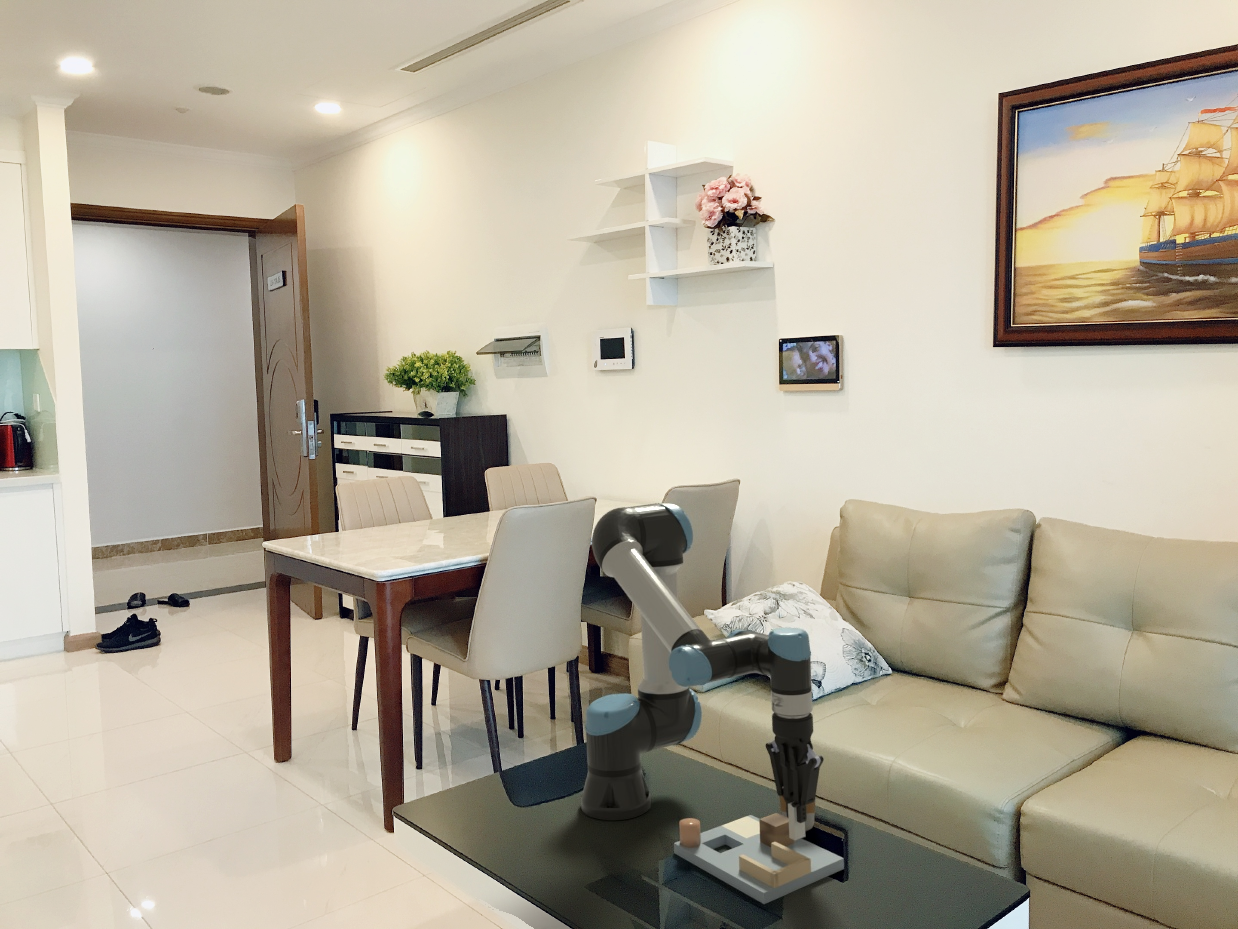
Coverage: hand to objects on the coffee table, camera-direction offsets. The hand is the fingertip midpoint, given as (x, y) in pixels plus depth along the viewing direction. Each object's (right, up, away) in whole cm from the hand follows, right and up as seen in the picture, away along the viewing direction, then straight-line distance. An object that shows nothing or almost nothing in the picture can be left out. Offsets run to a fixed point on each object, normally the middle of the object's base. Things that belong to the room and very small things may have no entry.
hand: (797, 837), depth 180 cm
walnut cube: (-3, -3, +4) cm, 6 cm away
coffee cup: (+3, -4, +16) cm, 17 cm away
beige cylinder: (-20, -3, +6) cm, 21 cm away
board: (-7, -5, +2) cm, 9 cm away
